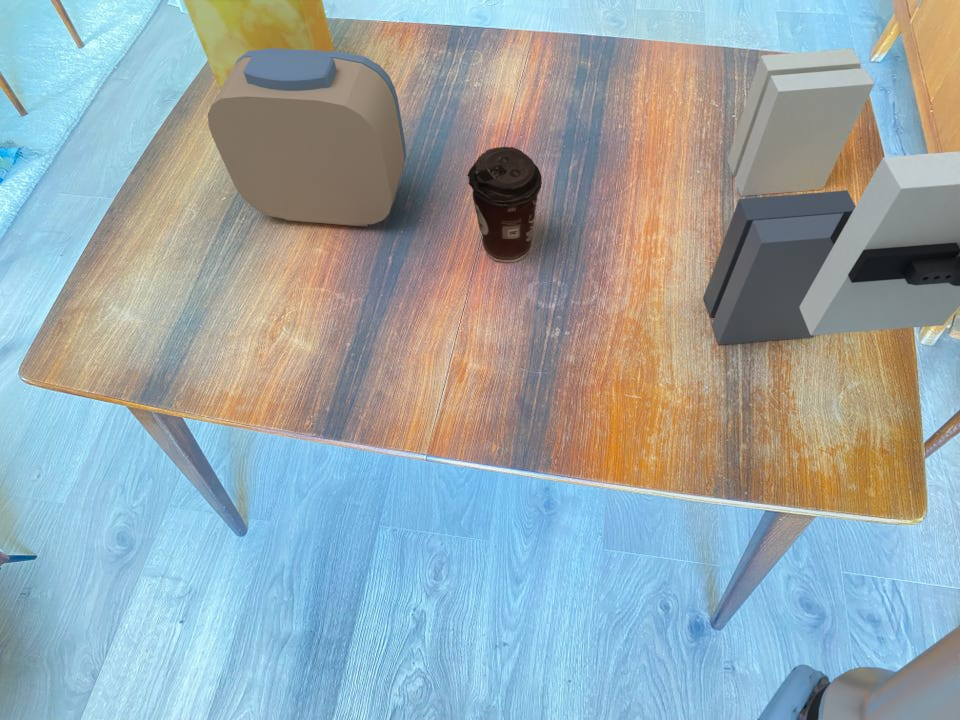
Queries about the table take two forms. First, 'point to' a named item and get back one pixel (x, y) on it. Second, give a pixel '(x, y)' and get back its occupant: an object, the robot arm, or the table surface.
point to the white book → (886, 224)
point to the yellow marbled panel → (256, 28)
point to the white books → (797, 120)
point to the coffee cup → (505, 201)
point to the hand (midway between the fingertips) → (848, 247)
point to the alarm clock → (311, 135)
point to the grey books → (771, 265)
